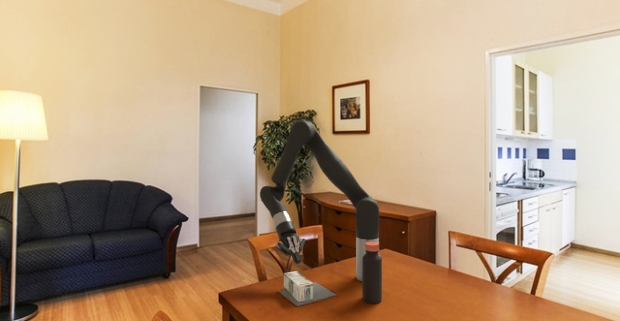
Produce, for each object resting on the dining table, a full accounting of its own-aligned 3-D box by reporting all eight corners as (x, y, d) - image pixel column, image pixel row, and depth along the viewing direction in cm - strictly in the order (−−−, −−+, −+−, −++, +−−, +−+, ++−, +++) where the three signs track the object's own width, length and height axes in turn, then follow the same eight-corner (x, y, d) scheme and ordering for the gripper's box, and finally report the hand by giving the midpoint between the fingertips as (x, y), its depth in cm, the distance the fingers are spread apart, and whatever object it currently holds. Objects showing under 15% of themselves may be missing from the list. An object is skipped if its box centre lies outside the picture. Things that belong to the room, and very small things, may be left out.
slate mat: (314, 283, 134) (314, 281, 134) (335, 295, 122) (335, 294, 122) (278, 292, 125) (278, 290, 125) (297, 306, 113) (297, 305, 113)
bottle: (370, 305, 114) (370, 247, 114) (358, 297, 120) (358, 242, 120) (385, 301, 117) (385, 244, 117) (373, 294, 123) (373, 240, 123)
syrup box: (296, 285, 131) (314, 299, 118) (282, 287, 128) (299, 302, 115) (296, 270, 131) (314, 283, 118) (282, 272, 128) (299, 286, 115)
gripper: (272, 221, 133) (286, 260, 123) (300, 218, 140) (316, 255, 130) (266, 232, 137) (280, 271, 127) (294, 228, 144) (309, 264, 134)
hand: (298, 262), depth 128 cm, fingers closed
